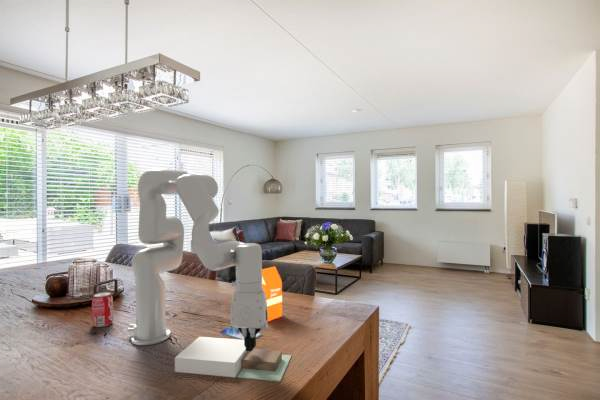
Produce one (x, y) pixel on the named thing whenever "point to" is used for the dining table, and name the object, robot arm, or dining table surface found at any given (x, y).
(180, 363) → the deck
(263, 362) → the walnut tile
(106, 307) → the soda can
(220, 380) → the dining table surface
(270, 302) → the orange juice
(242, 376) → the mat
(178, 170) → the robot arm
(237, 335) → the smartphone
